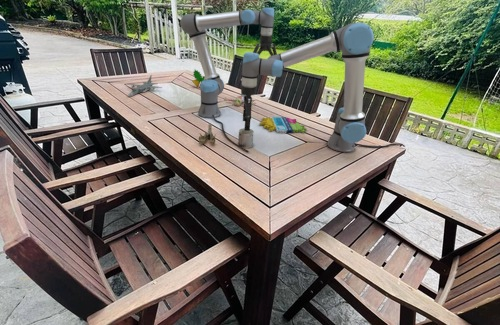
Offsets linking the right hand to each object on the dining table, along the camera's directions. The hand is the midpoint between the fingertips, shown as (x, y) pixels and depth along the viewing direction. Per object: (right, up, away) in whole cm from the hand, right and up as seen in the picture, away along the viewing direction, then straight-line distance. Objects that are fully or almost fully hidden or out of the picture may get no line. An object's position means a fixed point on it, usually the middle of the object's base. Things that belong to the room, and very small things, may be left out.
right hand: (246, 125), depth 141 cm
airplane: (-92, +43, +88) cm, 134 cm away
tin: (0, -10, +6) cm, 12 cm away
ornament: (-43, +53, +113) cm, 132 cm away
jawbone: (-21, -8, +6) cm, 24 cm away
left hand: (+11, +44, +38) cm, 59 cm away
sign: (+23, +5, +35) cm, 43 cm away
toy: (-5, +31, +79) cm, 86 cm away
